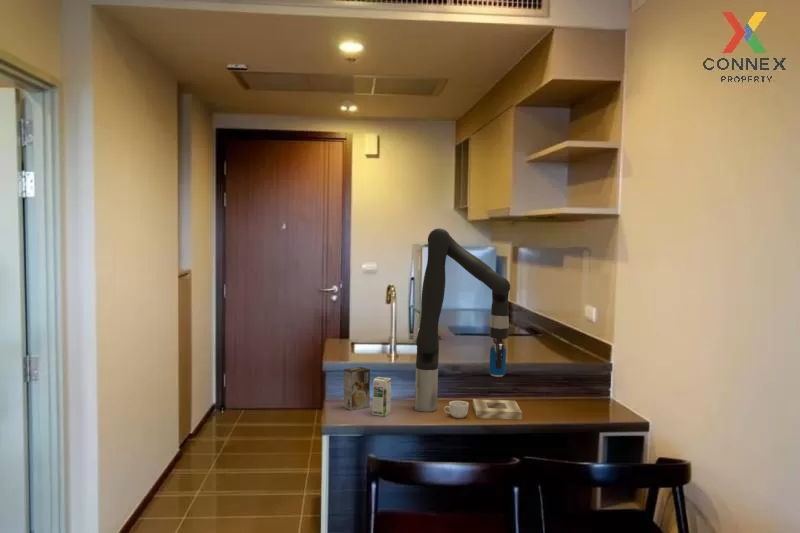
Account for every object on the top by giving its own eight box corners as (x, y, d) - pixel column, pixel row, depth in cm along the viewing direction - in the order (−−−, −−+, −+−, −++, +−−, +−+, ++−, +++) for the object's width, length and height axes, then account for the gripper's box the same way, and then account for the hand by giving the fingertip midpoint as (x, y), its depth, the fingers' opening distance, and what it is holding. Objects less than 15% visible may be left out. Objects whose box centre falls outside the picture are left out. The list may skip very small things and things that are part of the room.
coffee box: (361, 403, 247) (361, 366, 247) (369, 407, 242) (370, 369, 242) (343, 407, 242) (343, 369, 241) (351, 410, 237) (352, 372, 236)
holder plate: (476, 417, 231) (476, 410, 231) (472, 406, 247) (473, 399, 247) (521, 419, 231) (521, 412, 230) (515, 407, 246) (515, 400, 246)
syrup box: (371, 415, 232) (372, 379, 231) (377, 411, 237) (378, 376, 237) (385, 416, 230) (386, 380, 229) (390, 412, 236) (391, 377, 235)
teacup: (464, 413, 237) (464, 400, 237) (471, 419, 230) (471, 405, 230) (441, 414, 235) (441, 401, 235) (446, 420, 228) (447, 406, 227)
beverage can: (504, 377, 234) (506, 348, 234) (488, 376, 236) (490, 347, 235) (505, 374, 241) (506, 345, 240) (489, 372, 242) (490, 344, 241)
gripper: (488, 323, 244) (486, 362, 245) (492, 328, 230) (490, 370, 231) (505, 323, 244) (504, 363, 245) (511, 329, 230) (509, 371, 231)
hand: (497, 366), depth 238 cm, fingers closed on beverage can, 6 cm apart
